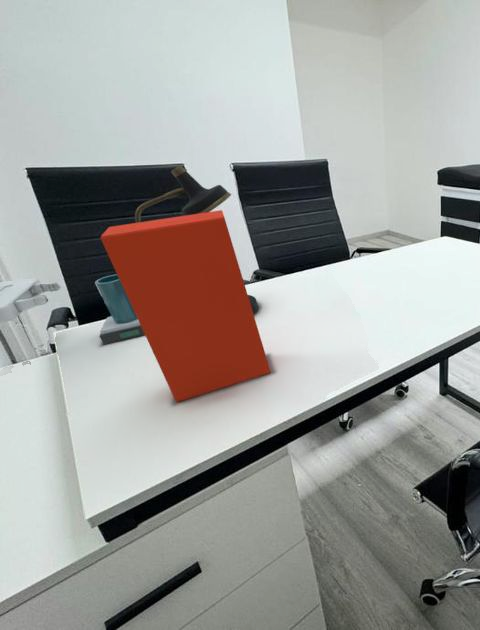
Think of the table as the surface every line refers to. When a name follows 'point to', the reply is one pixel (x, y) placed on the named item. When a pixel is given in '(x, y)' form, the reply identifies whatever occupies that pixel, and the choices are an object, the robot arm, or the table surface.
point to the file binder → (189, 300)
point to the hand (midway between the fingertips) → (52, 292)
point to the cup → (116, 299)
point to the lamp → (195, 202)
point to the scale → (119, 331)
